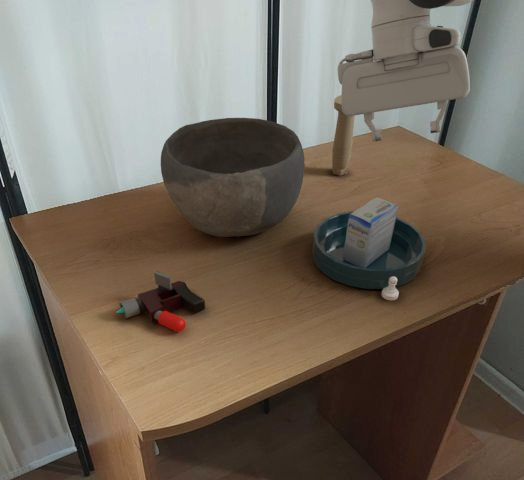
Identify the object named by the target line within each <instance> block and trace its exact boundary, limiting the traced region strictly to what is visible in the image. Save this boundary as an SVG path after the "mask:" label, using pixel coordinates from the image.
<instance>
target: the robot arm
mask: <svg viewBox="0 0 524 480" xmlns="http://www.w3.org/2000/svg"><path fill="white" fill-rule="evenodd" d="M472 2H474V0H370V3H371V8H372V18H371V24H370V27H371V28H370V29H371V40H372V41H371V42H372V49H369V50H364V51H360V52H357V53H349V54H347V55H345V56H344V58H342V59H341V60H340V61H339V62H338V64H337V79H338V82H339V84H340V85H341V94H340V95H341V102H342V112H343V113H344V114H345V115H346V116H354V115H355V116H359V115H363V120H364V121H363V122H364V123H365V125H366V126H367V127H368V130H370V131H371V139H372V142H373V143H374V142H381V141H383V134H382V133H383V128H377V127H376V125H375V124H374V122H373V120H374V119H375V113H378V112H379V113H380V112H385V111H391V110H398V109H404V108H409V107H410V108H411V107H415V106H416V107H417V106H421V105H428V104H433V103H436V105H437V106H436V108H437V110H438V111H439V112H438V115H437V117H436V119H435V120H430V121H429V125H430V127H429V128H430V134H437V133H441V120H442V118H443V116H444V114H445V112H446V110H447V108H448V107H447V105H448V104H447V103H448V101H451V100H452V101H453V100H458V99H464V98H466V97H467V96H468V95H469V93H470V92H471V81H470V80H471V79H470V70H469V64H468V63H469V62H468V59H467V55H466V53H465V51H464V50H463V49H462V48H461V47H458V46H459V45H460V43H461V40H462V33H461V31H460V30H459V29H457V28H450V27H444V26H443V25H437V26H436V25H435V26H434V25H432V23H431V9H437V8H441V7H442V8H443V7H445V8H446V7H461V6H465V5H467V4H468V5H469V4H470V3H472ZM355 116H354V117H355Z"/></svg>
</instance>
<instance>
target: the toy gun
mask: <svg viewBox="0 0 524 480" xmlns="http://www.w3.org/2000/svg"><path fill="white" fill-rule="evenodd" d="M153 276H154V281H155V285H157V287H155V288H153V289H150V290H147V291H144V292H140V293H138V294H137V298H135V297H132V298H129V299H126V300H123V301H120V302H119V307H120V309H119V310H117V311H115V313H117V314H118V313H119V314H122V315H123V317H124V319H129V318H132V317H134V316H138V315H140V314H141V313H142V312H143V313H145V315H146V317H147V318H148V319H149V321H150V323H151V324H152V325H154V324H156V323H157V322H158V324H159V325H161V326H164V327H166V328H167V329H170V330H172V331H174V332H177V333H181V332H183V331H184V330H185V329H186V326H187V323H186V321H185V319H184V318H182V317H180V316H179V315H176V314H174V313H172V312H171V311H173V310H176V309H180V308H185V309H186V310H187V311H189V312H190V313H192V314H197V313H199V312H202V311H204V310H206V304H205V302H206V301H205V300H204V298H202V297H201V296H199V295H197V294H196V293H194V292H192V290H190V288H189V287H188V286H187V285H188V284H187V283H186V281H180V280H177V281H174V282H172V279H171V276H169V275H167V274H165V273H161V272H159V271H155V272H153Z"/></svg>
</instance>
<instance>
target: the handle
mask: <svg viewBox="0 0 524 480" xmlns="http://www.w3.org/2000/svg"><path fill="white" fill-rule="evenodd" d="M333 101H334V102H333V108H334V110H335V111H337V119H336V126H335V132H334V137H333V144H332V157H331V162H332V163H331V164H332V166H331V168H332V169H331V170H332V174H333V175H335V176H339V177H341V176H345V175H347V173H348V171H349V168H348V167H349V166H350V162H351V156H352V152H353V151H352V150H353V142H354V141H353V140H354V128H355V127H354V126H355V116H356V115H354V116H346V115H345V114H344V113H343V112H342V102H341V94H340V95H337V96H336V97H335V98H334V99H333Z"/></svg>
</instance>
